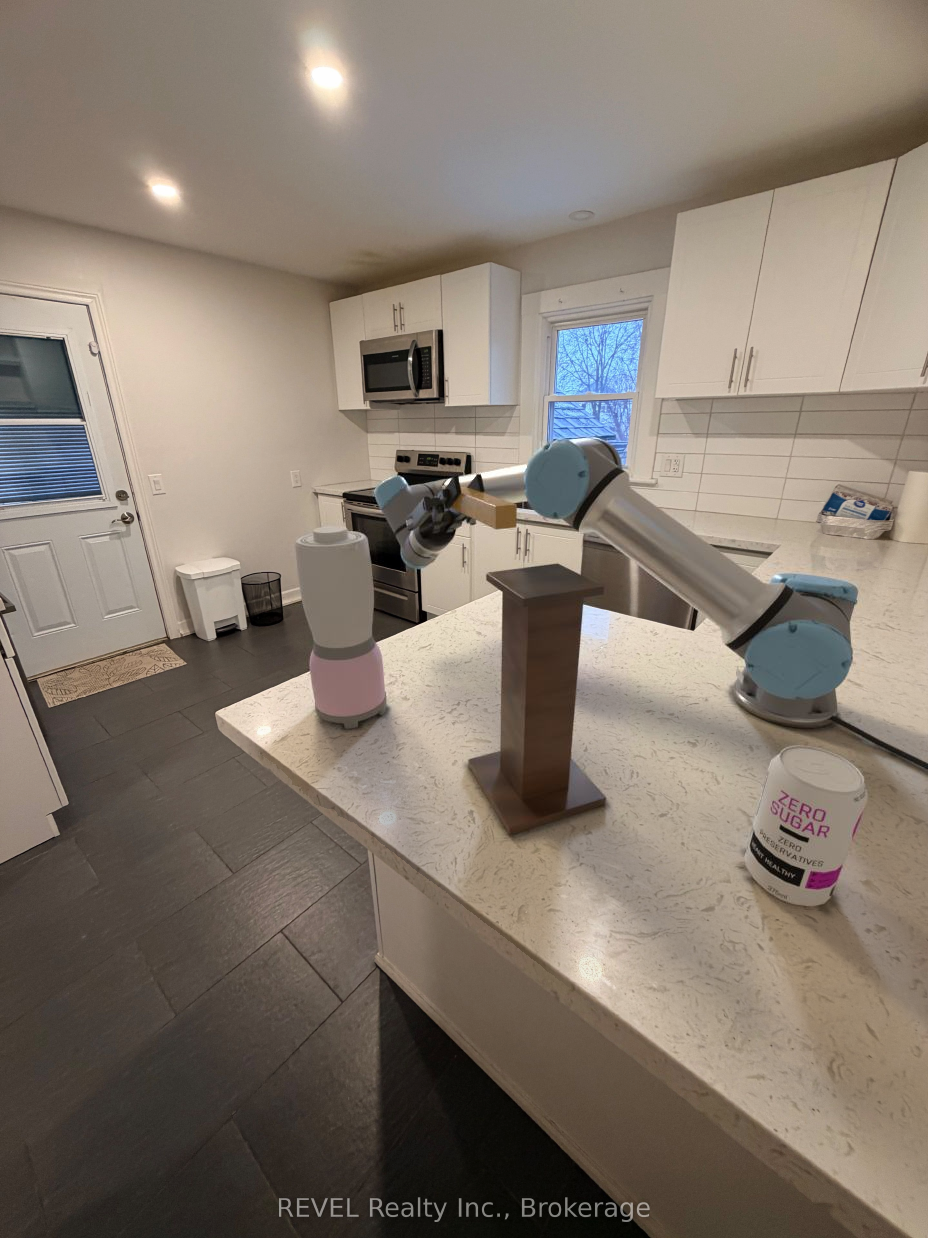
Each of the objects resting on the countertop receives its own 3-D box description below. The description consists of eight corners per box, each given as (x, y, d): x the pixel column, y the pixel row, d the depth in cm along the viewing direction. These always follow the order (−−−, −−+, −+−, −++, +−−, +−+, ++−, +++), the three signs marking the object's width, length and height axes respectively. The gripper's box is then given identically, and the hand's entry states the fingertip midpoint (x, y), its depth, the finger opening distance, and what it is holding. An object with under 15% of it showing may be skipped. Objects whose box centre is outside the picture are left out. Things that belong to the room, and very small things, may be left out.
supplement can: (816, 856, 57) (854, 750, 51) (841, 921, 50) (887, 805, 44) (738, 839, 59) (765, 735, 54) (750, 898, 52) (783, 785, 46)
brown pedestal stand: (468, 765, 73) (464, 570, 61) (551, 743, 77) (563, 557, 66) (509, 835, 61) (514, 607, 49) (605, 804, 65) (631, 589, 53)
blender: (401, 709, 87) (387, 528, 75) (341, 739, 79) (314, 543, 67) (352, 678, 97) (333, 515, 85) (294, 702, 90) (264, 526, 77)
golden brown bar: (442, 503, 83) (441, 485, 82) (459, 502, 84) (458, 484, 83) (495, 529, 64) (495, 506, 63) (516, 527, 65) (517, 504, 64)
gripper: (474, 547, 99) (522, 503, 76) (395, 555, 93) (422, 511, 71) (467, 511, 99) (512, 457, 77) (388, 518, 94) (412, 462, 72)
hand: (469, 483), depth 74 cm, fingers closed on golden brown bar, 3 cm apart
